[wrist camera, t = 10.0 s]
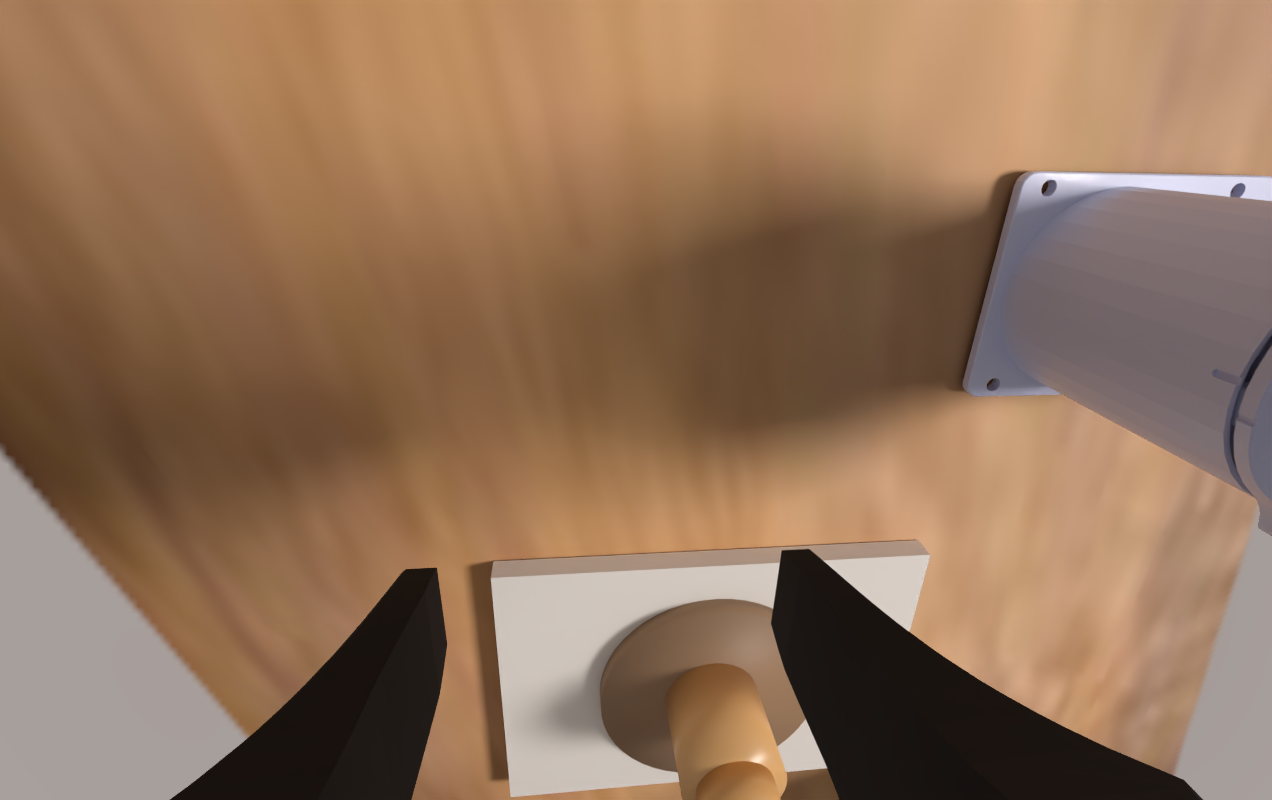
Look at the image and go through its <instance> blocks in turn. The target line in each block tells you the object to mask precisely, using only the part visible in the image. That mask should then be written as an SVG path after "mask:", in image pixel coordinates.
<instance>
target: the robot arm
mask: <svg viewBox="0 0 1272 800" xmlns="http://www.w3.org/2000/svg"><path fill="white" fill-rule="evenodd" d="M1046 181H1047V182H1048V188H1047V190H1046V191H1045V192H1044V193H1043V194H1042V193H1041V188H1042V186H1043V184H1044V183H1045V182H1046ZM1233 187H1234V189H1233V191H1232V193H1231V190H1232V188H1233ZM1230 193H1231V194H1230ZM991 379H993V382H992V384H991V385H989V386H988V387H987V383H988V382H989V381H990V380H991ZM963 388H964V390H965V391H966V392H967V393H969V394H970V395H972V396H976V397H983V396H1026V395H1064V396H1066V397H1068V398H1070V399H1072V400H1073V401H1075V402H1077V403H1079V404H1081V405H1083V406H1085V407H1087V408H1088V409H1090V410H1092V411H1094V412H1096V413H1098V414H1100V415H1101V416H1103V417H1105V418H1107V419H1109V420H1111V421H1113V422H1114V423H1116V424H1118V425H1120V426H1122V427H1124V428H1126V429H1127V430H1129V431H1131V432H1133V433H1135V434H1137V435H1139V436H1141V437H1142V438H1144V439H1146V440H1148V441H1150V442H1152V443H1154V444H1155V445H1157V446H1159V447H1161V448H1163V449H1165V450H1167V451H1168V452H1170V453H1172V454H1174V455H1176V456H1178V457H1180V458H1181V459H1183V460H1185V461H1187V462H1189V463H1191V464H1193V465H1194V466H1196V467H1198V468H1200V469H1202V470H1204V471H1206V472H1208V473H1209V474H1211V475H1213V476H1215V477H1217V478H1219V479H1221V480H1222V481H1224V482H1226V483H1228V484H1230V485H1232V486H1234V487H1235V488H1237V489H1239V490H1241V491H1243V492H1245V493H1247V494H1248V495H1250V496H1252V497H1254V498H1255V499H1256V500H1257V502H1258V504H1259V508H1260V517H1259V522H1258V528H1259V529H1261V530H1262V531H1264V532H1266V533H1268V534H1269V535H1271V536H1272V177H1270V176H1261V175H1215V174H1164V173H1114V172H1063V171H1029V172H1026V173H1024V174H1022V175H1021V176H1020V177H1019V178H1018V179H1017V180H1016V183H1015V185H1014V188H1013V192H1012V195H1011V199H1010V203H1009V207H1008V211H1007V215H1006V218H1005V222H1004V226H1003V230H1002V234H1001V238H1000V241H999V245H998V249H997V253H996V257H995V261H994V265H993V268H992V272H991V276H990V280H989V284H988V288H987V291H986V295H985V299H984V303H983V307H982V311H981V314H980V318H979V322H978V326H977V330H976V334H975V337H974V341H973V345H972V349H971V353H970V357H969V361H968V364H967V368H966V372H965V376H964V380H963ZM771 626H772V629H773V633H774V636H775V640H776V644H777V647H778V650H779V654H780V657H781V660H782V663H783V667H784V670H785V672H786V674H787V677H788V679H789V682H790V684H791V686H792V689H793V691H794V693H795V696H796V698H797V700H798V703H799V705H800V707H801V709H802V712H803V714H804V716H805V719H806V721H807V723H808V725H809V728H810V730H811V732H812V735H813V737H814V739H815V741H816V744H817V746H818V748H819V750H820V753H821V755H822V757H823V760H824V762H825V764H826V766H827V769H828V771H829V774H830V776H831V779H832V781H833V784H834V786H835V789H836V791H837V794H838V797H839V800H1203V799H1202V798H1201V797H1200V796H1199V795H1198V794H1197V793H1196V792H1195V791H1194V790H1193V789H1192V788H1191V787H1190V786H1189V785H1188V784H1187V783H1186V782H1185V781H1184V780H1182V779H1180V778H1178V777H1176V776H1173V775H1171V774H1168V773H1166V772H1164V771H1161V770H1159V769H1156V768H1154V767H1152V766H1149V765H1147V764H1145V763H1142V762H1140V761H1137V760H1135V759H1133V758H1130V757H1128V756H1126V755H1123V754H1121V753H1118V752H1116V751H1114V750H1111V749H1109V748H1107V747H1105V746H1103V745H1101V744H1098V743H1096V742H1094V741H1092V740H1090V739H1088V738H1086V737H1084V736H1082V735H1080V734H1078V733H1076V732H1074V731H1071V730H1069V729H1067V728H1065V727H1063V726H1061V725H1059V724H1057V723H1055V722H1053V721H1051V720H1050V719H1048V718H1046V717H1044V716H1042V715H1040V714H1038V713H1036V712H1034V711H1032V710H1031V709H1029V708H1027V707H1025V706H1023V705H1022V704H1020V703H1018V702H1016V701H1015V700H1013V699H1011V698H1009V697H1007V696H1006V695H1004V694H1002V693H1000V692H999V691H997V690H995V689H994V688H992V687H990V686H988V685H987V684H985V683H983V682H982V681H980V680H979V679H977V678H975V677H974V676H972V675H971V674H969V673H968V672H966V671H965V670H963V669H962V668H960V667H958V666H957V665H955V664H954V663H952V662H951V661H949V660H948V659H946V658H945V657H943V656H942V655H940V654H939V653H937V652H936V651H935V650H933V649H932V648H930V647H929V646H928V645H926V644H925V643H924V642H922V641H921V640H919V639H918V638H917V637H915V636H914V635H913V634H911V633H910V632H909V631H907V630H906V629H905V628H903V627H902V626H901V625H899V624H898V623H897V622H896V621H894V620H893V619H892V618H891V617H889V616H888V615H887V614H886V613H884V612H883V611H882V610H881V609H879V608H878V607H877V606H876V605H874V604H873V603H872V602H871V601H870V600H868V599H867V598H866V597H865V596H864V595H863V594H861V593H860V592H859V591H858V590H857V589H855V588H854V587H853V586H852V585H851V584H850V583H848V582H847V581H846V580H845V579H844V578H843V577H842V576H840V575H839V574H838V573H837V572H836V571H835V570H833V569H832V568H831V567H830V566H829V565H828V564H827V563H825V562H824V561H823V560H822V559H821V558H820V557H818V556H817V555H816V554H815V553H814V552H812V551H811V550H810V549H796V550H782V552H781V558H780V565H779V572H778V579H777V585H776V592H775V599H774V606H773V612H772V619H771ZM446 649H447V640H446V632H445V625H444V618H443V610H442V603H441V595H440V588H439V581H438V573H437V568H422V569H406V570H405V571H403V572H402V573H401V574H400V576H399V577H398V578H397V579H396V581H395V582H394V583H393V584H392V586H391V587H390V588H389V590H388V591H387V592H386V593H385V595H384V596H383V597H382V598H381V600H380V601H379V602H378V603H377V605H376V606H375V607H374V608H373V609H372V611H371V612H370V613H369V614H368V615H367V617H366V618H365V619H364V620H363V621H362V623H361V624H360V625H359V626H358V627H357V628H356V630H355V631H354V632H353V633H352V634H351V635H350V637H349V638H348V639H347V640H346V641H345V642H344V643H343V645H342V646H341V647H340V648H339V649H338V650H337V651H336V652H335V654H334V655H333V656H332V657H331V658H330V659H329V660H328V661H327V662H326V663H325V664H324V665H323V666H322V667H321V668H320V669H319V671H318V672H317V673H316V674H315V675H314V676H313V677H312V678H311V679H310V680H309V681H308V682H307V683H306V684H305V685H304V686H303V687H302V688H301V689H300V690H299V691H298V692H297V693H296V694H295V695H294V696H293V697H292V698H291V699H290V700H289V701H288V702H287V703H286V704H285V705H284V706H283V707H282V708H281V709H280V710H279V711H278V712H276V713H275V714H274V715H273V716H272V717H271V718H270V719H269V720H268V721H267V722H266V723H264V724H263V725H262V726H261V727H260V728H259V729H258V730H257V731H256V732H254V733H253V734H252V735H251V736H250V737H249V738H247V739H246V740H245V741H244V742H243V743H242V744H240V745H239V746H238V747H237V748H235V749H234V750H233V751H232V752H231V753H229V754H228V755H227V756H226V757H224V758H223V759H222V760H221V761H219V762H218V763H217V764H216V765H215V766H213V767H212V768H211V769H210V770H208V771H207V772H206V773H205V774H203V775H202V776H201V777H200V778H198V779H197V780H196V781H194V782H193V783H192V784H191V785H189V786H188V787H187V788H185V789H184V790H182V791H181V792H180V793H178V794H177V795H176V796H174V797H173V798H172V799H170V800H411V799H412V795H413V791H414V788H415V784H416V780H417V777H418V773H419V769H420V766H421V762H422V758H423V755H424V751H425V747H426V744H427V740H428V736H429V733H430V729H431V725H432V721H433V718H434V714H435V710H436V706H437V702H438V699H439V695H440V689H441V683H442V676H443V670H444V663H445V656H446Z"/></svg>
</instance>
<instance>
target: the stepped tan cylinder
mask: <svg viewBox="0 0 1272 800" xmlns="http://www.w3.org/2000/svg"><path fill="white" fill-rule="evenodd" d="M666 710H667V716H668V721H669V727H670V733H671V738H672V744H673V749H674V755H675V760H676V766H677V772H678V777H679V783H680V788H681V794H682V799H683V800H781V798H780V797H781V796H782V794H783V792H784V791H785V788H786V785H787V773H786V770H785V767H784V765H783V762H782V759H781V756H780V753H779V750H778V747H777V744H776V742H775V739H774V736H773V733H772V730H771V727H770V724H769V721H768V719H767V716H766V713H765V710H764V707H763V704H762V701H761V698H760V696H759V693H758V690H757V687H756V684H755V681H754V680H753V678H752V676H751V675H750V674H749V673H748V672H746V671H745V670H743V669H742V668H740V667H737V666H734V665H731V664H723V663H715V664H707V665H703V666H699V667H696V668H694V669H692V670H690V671H688V672H686V673H684V674H683V675H682V676H680V677H679V678H678V679H677V680H676V681H675V682H674V683H673V684H672V686H671V687H670V689H669V691H668V693H667V696H666Z"/></svg>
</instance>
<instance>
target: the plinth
mask: <svg viewBox="0 0 1272 800" xmlns="http://www.w3.org/2000/svg"><path fill="white" fill-rule="evenodd" d="M796 549H810V550H811V551H812V552H814V553H815V554H816V555H817V556H818V557H820V558H821V559H822V560H823V561H824V562H825V563H827V564H828V565H829V566H830V567H831V568H832V569H833V570H835V571H836V572H837V573H838V574H839V575H840V576H842V577H843V578H844V579H845V580H846V581H847V582H848V583H850V584H851V585H852V586H853V587H854V588H855V589H857V590H858V591H859V592H860V593H861V594H863V595H864V596H865V597H866V598H867V599H868V600H870V601H871V602H872V603H873V604H874V605H876V606H877V607H878V608H879V609H881V610H882V611H883V612H884V613H886V614H887V615H888V616H889V617H891V618H892V619H893V620H894V621H896V622H897V623H898V624H899V625H901V626H902V627H903V628H905V629H906V630H907V631H909V632H910V628H911V625H912V621H913V617H914V613H915V610H916V606H917V602H918V599H919V595H920V591H921V588H922V584H923V580H924V576H925V573H926V569H927V565H928V562H929V558H930V554H929V553H928V551H927V550H926V549H925V548H924V547H923V546H922V544H921V543H920V542H919V541H918V540H909V541H889V542H869V543H849V544H829V545H809V546H789V547H769V548H749V549H729V550H709V551H689V552H669V553H650V554H630V555H610V556H590V557H570V558H550V559H530V560H510V561H493V567H492V573H491V586H492V597H493V608H494V619H495V630H496V641H497V652H498V663H499V674H500V685H501V696H502V707H503V717H504V728H505V739H506V750H507V761H508V772H509V783H510V794H511V797H518V796H529V795H540V794H550V793H561V792H572V791H583V790H594V789H605V788H616V787H627V786H638V785H649V784H660V783H671V782H679V777H678V772H677V766H676V760H675V755H674V749H673V744H672V738H671V733H670V727H669V721H668V716H667V710H666V696H667V693H668V691H669V689H670V687H671V686H672V684H673V683H674V682H675V681H676V680H677V679H678V678H679V677H680V676H682V675H683V674H684V673H686V672H688V671H690V670H692V669H694V668H696V667H699V666H703V665H707V664H715V663H723V664H731V665H734V666H737V667H740V668H742V669H743V670H745V671H746V672H748V673H749V674H750V675H751V676H752V678H753V680H754V681H755V684H756V687H757V690H758V693H759V696H760V698H761V701H762V704H763V707H764V710H765V713H766V716H767V719H768V721H769V724H770V727H771V730H772V733H773V736H774V739H775V742H776V744H777V747H778V750H779V753H780V756H781V759H782V762H783V765H784V767H785V770H786V772H791V771H802V770H813V769H824V768H827V766H826V764H825V762H824V760H823V757H822V755H821V753H820V750H819V748H818V746H817V744H816V741H815V739H814V737H813V735H812V732H811V730H810V728H809V725H808V723H807V721H806V719H805V716H804V714H803V712H802V709H801V707H800V705H799V703H798V700H797V698H796V696H795V693H794V691H793V689H792V686H791V684H790V682H789V679H788V677H787V674H786V672H785V670H784V667H783V663H782V660H781V657H780V654H779V650H778V647H777V644H776V640H775V636H774V633H773V629H772V626H771V619H772V612H773V606H774V599H775V592H776V585H777V579H778V572H779V565H780V558H781V552H782V550H796Z"/></svg>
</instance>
